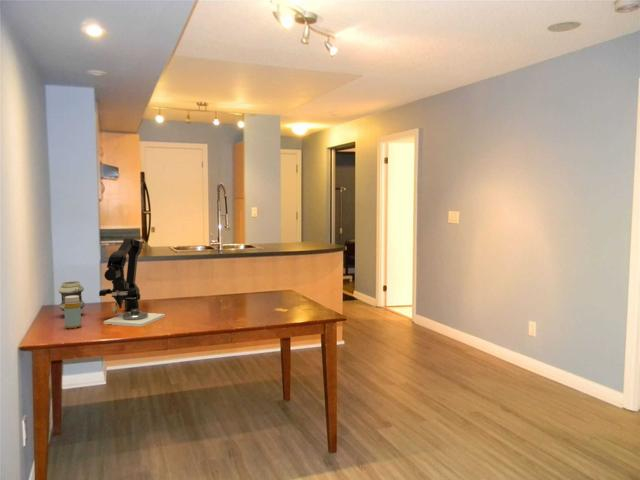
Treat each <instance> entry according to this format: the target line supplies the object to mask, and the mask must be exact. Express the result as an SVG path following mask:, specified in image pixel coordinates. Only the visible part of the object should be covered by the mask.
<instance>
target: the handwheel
mask: <svg viewBox="0 0 640 480" xmlns="http://www.w3.org/2000/svg"><path fill="white" fill-rule="evenodd" d="M139 309H140V308H139ZM139 309H131V312H130V313H128V312H121V311H120V312H119V311H118V303H117V302H112V303H111V314H112V315H123V319H128V320H135V319H142V318H146V317H147V316H148V313H149V312H146V311H141V310H139Z"/></svg>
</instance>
